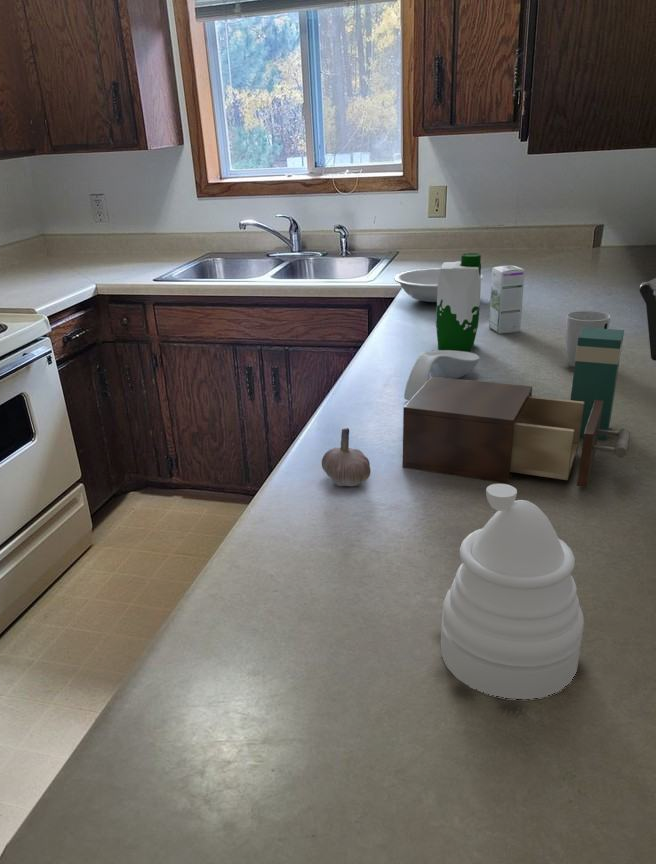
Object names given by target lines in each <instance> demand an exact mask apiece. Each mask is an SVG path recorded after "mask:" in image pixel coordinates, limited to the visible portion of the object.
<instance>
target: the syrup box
mask: <svg viewBox="0 0 656 864" xmlns="http://www.w3.org/2000/svg"><path fill="white" fill-rule="evenodd" d="M491 271H492V272H491V285H490V304H489V320H488V321H489V323H488V328H489V329H490V330H492V331H494V332H495V333H497V334H511V333H520V332H521V326H522V325H521V324H522V313H523V312H522V311H523V299H524V286H525V285H524V283H525V271H526V270H525V269H524V268H522V267H519V266H516V265H499V266H494V267H492V270H491Z"/></svg>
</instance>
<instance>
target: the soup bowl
mask: <svg viewBox="0 0 656 864" xmlns="http://www.w3.org/2000/svg"><path fill="white" fill-rule="evenodd" d="M440 268H441V267H438V268H437V267H434V268H431V267H430V268H421V269H419V268H418V269H413V270H412V269H411V270H408V271H402V272H400V273H398V274H396V275H395V276H394V278H393V279H394V281H395V282H396V283H398V284H400V286H401V288H402V290H403V291H404V292H405V293H406V294H407V295H408V296H409V297H411V298H413V299H415V300H418V301H422V302H427V303H428V302H429V303H437V291H438V280H439V273H440ZM483 279H484V275H483V273H481V281H483Z"/></svg>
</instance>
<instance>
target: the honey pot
mask: <svg viewBox="0 0 656 864" xmlns="http://www.w3.org/2000/svg"><path fill="white" fill-rule="evenodd" d="M485 493H486V495H485V496H486V499H487V502H488V504H489V506H490V507H491V508H492V509H494V510H495V511H496V512H495V513H494V514H493V515H492V516H491V517H490V519H489V520H488V521H487V522H486V523H485V525H484V526H483V527H482V528H479V529H476V530H474V531H473V532H471V533H469V534H468V535H467V536H466V537H465V538H464V539H463V540H462V542H461V545H460V547H459V557H460V560H461V562H462V563H461V564H460V565H459V566H458V568H457V570H456V573H455V577H454V578H453V581H452V584H451V587H450V588H448V590H447V593H446V595H445V597H444V599H443V603H442V614H441V615H442V618H441V629H440V631H441V632H440V633H441V634H440V652H441V653H440V654H441V658H442V657H443V658H442V660H443V662H444V664H445V666H446V668H447V669H448V670H449V672H450V673H451V674H452V675H453V676H454V677H455V678H456V679H457V680H458V681H460V682H461V683H463V684H464V685H466V686H467V687H468V688H469V689H472V690H475V691H477V692H480V693H482V694H484V695H486V696H489V697H495V698H499V699H503V700H507V701H517V700H516V699H519V698H522V699H530V698H538V697H542V696H543V697H544V696H547V697H545V698H544V699H546V698H549V697H551V696H553V695H556V694H559V693H561V692H562V691H563V690H564V689H566V688H567V687H568V686H571V684H572V682H573V680H574V679H575V677H576V675H577V673H576V672H578V666H579V660H580V654H581V647H582V640H583V633H584V625H585V620H584V619H585V618H584V614H583V611H582V608H581V605H580V600H579V597H578V594H577V590H578V588H577V584H576V581H575V579H574V577H573V576H572V572H574V569H575V564H576V559H575V556H574V552H573V550H572V548H570V546H568V544H567V543H566V542H565V541H563V540H562V539H560V538H559V536H558V533H557V532H556V530H555V528H554V526H553V524H552V523H551V521H550V519H549V518H548V517H547V515H546V514H545V513H544V512H543V510H541V508H540V507H538V506H537V505H536V504H534V503H533V502H531V501H529V500H526V499H525V500H523V499H518V500H516V498H517V495H518V489H517V488H515V486H512V485H510V484H508V483H492V484H490V485H488V486H487V487H486V490H485ZM575 674H576V675H575ZM574 676H575V677H574ZM573 677H574V678H573ZM572 679H573V680H572ZM571 681H572V682H571ZM570 682H571V683H570ZM569 683H570V684H569ZM568 684H569V685H568ZM468 685H469V686H468ZM567 685H568V686H567ZM565 686H567V687H565ZM564 687H565V688H564ZM563 688H564V689H563ZM476 689H477V690H476ZM561 689H563V690H561ZM560 690H561V691H560ZM558 691H560V692H558ZM483 692H484V693H483ZM555 692H558V693H555ZM486 693H487V694H486ZM553 693H555V694H553ZM488 694H489V695H488ZM550 694H553V695H550ZM492 695H494V696H492ZM548 695H550V696H548ZM496 696H500V697H496ZM501 697H504V698H501ZM505 698H516V699H505ZM540 699H543V698H538V699H537V700H540ZM533 700H535V699H530V700H529V701H533ZM524 701H528V700H524Z"/></svg>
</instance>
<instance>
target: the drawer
mask: <svg viewBox="0 0 656 864" xmlns="http://www.w3.org/2000/svg"><path fill="white" fill-rule="evenodd" d="M602 408H603V401H602V400H595V401H594V404H593V407H592V410H591V413H590V416H589V419H588V422H587V426H586V429H585V432H584V437H582V445H581V451H580V460H579V466H578V474H577V480H576V486H577V487H582V488H587V486H588V482H589V478H590V474H591V472H592V466H593V463H594V459H595V456H596V452H605V453H612V454H614V455H615V456H616V457H618V458H624V457H625V456H626V455H627V453H628V448H629V447H628V446H629V443H630V435H631V431H630V430H629V429H628V428H621V429H619V430H618V431H617V430H610V429H609V430H602V429H599V428H600V421H601V414H602ZM583 410H584V402H583V401H573V400H571V399H563V398H553V397H544V396H535V395H532V396H529V397H528V399H527V401H526V403H525V405H524V407H523V408H522V410H521V412H520V414H519V416H518V418H517V419H516V421H515V423H514V433H513V444H512V455H511V466H510V472H513V473H515V474H522V475H530V476H537V477H544V478H549V479H550V478H551V479H557V480H564V481H568V480H569V478H570V475H571V471H572V467H573V466H574V462H575V459H576V456H577V453H578V450H579V446H580V440H581V439H580V438H581V437H580V432H581V425H582V417H583ZM599 434H601V435H607V436H610V437H617V439H616V443H615V446H606V445H598V441H599V439H598V435H599Z"/></svg>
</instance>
